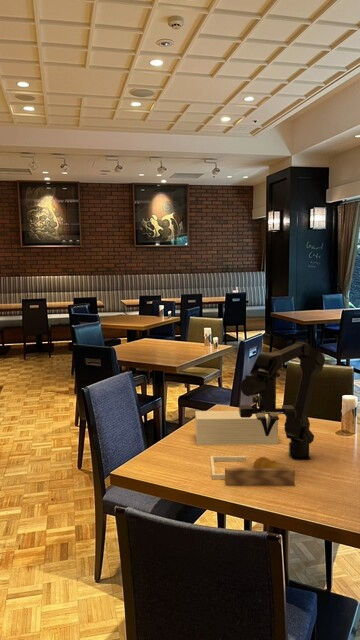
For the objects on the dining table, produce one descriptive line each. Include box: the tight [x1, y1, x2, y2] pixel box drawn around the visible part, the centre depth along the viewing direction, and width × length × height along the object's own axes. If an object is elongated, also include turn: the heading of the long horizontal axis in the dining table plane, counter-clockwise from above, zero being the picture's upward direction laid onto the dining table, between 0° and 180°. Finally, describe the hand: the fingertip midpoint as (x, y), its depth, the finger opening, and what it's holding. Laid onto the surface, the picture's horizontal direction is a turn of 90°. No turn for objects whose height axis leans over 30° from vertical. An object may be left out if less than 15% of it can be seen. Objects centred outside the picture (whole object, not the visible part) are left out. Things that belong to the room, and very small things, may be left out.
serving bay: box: [209, 455, 248, 480], centre depth 166 cm, size 13×16×2 cm
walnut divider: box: [224, 467, 296, 487], centre depth 154 cm, size 22×2×5 cm, turn 89°
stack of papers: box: [194, 410, 279, 446], centre depth 194 cm, size 32×11×11 cm, turn 91°
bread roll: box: [252, 456, 281, 468], centre depth 165 cm, size 8×9×4 cm
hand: (266, 435), depth 164 cm, fingers closed
